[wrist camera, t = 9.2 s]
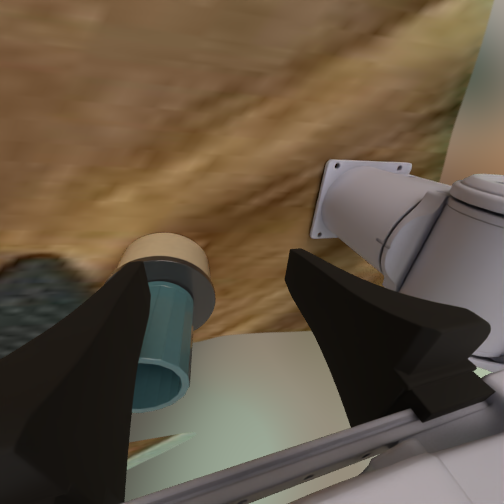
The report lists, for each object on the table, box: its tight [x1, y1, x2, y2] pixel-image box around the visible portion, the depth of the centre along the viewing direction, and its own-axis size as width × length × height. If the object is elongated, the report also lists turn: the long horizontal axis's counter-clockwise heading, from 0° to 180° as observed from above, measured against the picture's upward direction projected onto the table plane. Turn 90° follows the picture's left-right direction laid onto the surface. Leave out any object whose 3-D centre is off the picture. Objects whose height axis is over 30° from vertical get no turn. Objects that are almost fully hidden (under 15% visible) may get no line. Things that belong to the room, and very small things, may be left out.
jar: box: [104, 233, 216, 331], centre depth 20 cm, size 9×9×5 cm
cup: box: [132, 281, 194, 413], centre depth 15 cm, size 5×5×6 cm
